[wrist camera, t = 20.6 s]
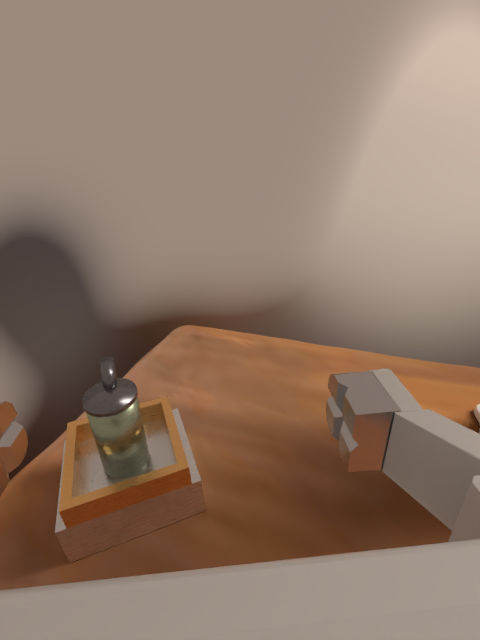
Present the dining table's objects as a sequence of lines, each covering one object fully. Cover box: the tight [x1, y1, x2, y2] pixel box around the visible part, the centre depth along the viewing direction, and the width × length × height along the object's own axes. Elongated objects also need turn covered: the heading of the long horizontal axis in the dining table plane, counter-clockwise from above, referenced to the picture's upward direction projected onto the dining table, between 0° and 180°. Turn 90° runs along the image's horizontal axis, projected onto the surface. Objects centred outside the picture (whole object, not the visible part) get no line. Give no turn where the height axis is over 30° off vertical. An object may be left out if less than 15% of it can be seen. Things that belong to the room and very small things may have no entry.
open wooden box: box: [55, 396, 206, 563], centre depth 40 cm, size 14×15×8 cm
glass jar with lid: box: [82, 357, 149, 479], centre depth 36 cm, size 5×7×12 cm
